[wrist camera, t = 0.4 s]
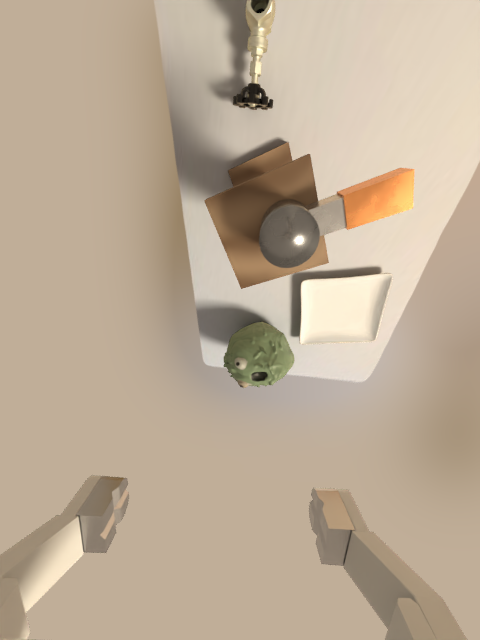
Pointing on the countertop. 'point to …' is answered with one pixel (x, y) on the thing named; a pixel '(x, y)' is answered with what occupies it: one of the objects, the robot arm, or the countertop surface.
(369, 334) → the salad plate
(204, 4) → the countertop surface
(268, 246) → the valve lever
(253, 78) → the valve
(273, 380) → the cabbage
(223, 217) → the stand
